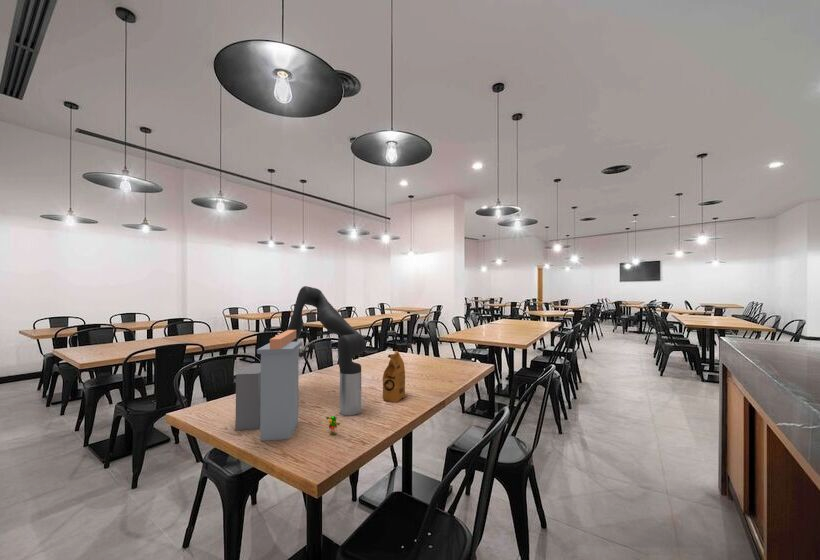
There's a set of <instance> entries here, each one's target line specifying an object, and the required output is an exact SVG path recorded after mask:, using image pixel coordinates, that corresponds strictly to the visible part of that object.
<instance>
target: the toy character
mask: <svg viewBox="0 0 820 560" xmlns="http://www.w3.org/2000/svg"><path fill="white" fill-rule="evenodd" d="M325 419H326V420H328V423H329V424H328V425H329V426H328V428H329V429H330V430H331V431H330V434H332V435H333V436H336V435H337V433H336V431H335V430H336V429H337V428H338V426H339V427H340V426H341V425H342V423H341V422H337V419H338V418H337V417H336V416H335V415H332V416H326V417H325Z"/></svg>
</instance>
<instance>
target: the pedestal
mask: <svg viewBox="0 0 820 560" xmlns="http://www.w3.org/2000/svg"><path fill="white" fill-rule="evenodd" d="M302 346H303V342H302V341H297V342H290V343H288V344H287V345H285V346H284V347H282V348H281V349H270V342H269V343H267V344H265V345H263V346H261V347H259V348H258V349H256V354H257V355H260V363H261V407H260V427H259V429H260V431H259V432H260V433H259V434H260V435H259V439H260V440H259V441H260V442H261V441H263V442H264V441H277V440H281V441H282V440H290V439H291V438H292V437H293V436H292V435H293V434H294V432H295V430H296V429H297V426H298V424H299V374H300V373H299V368H300V367H299V363H300V362H299V360H300V357H299V350H300V349H299V348H300V347H302Z"/></svg>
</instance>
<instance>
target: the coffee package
mask: <svg viewBox="0 0 820 560" xmlns="http://www.w3.org/2000/svg"><path fill="white" fill-rule="evenodd" d="M387 358H390V360H389V362H388V364H387V366H386V368H385V369H384V371H383V375H382V400H383V401H385V402H389V401H391V403H399V402H400V400H403V399H404V398H405V396H406V371H405V370H406V369H405V363H404V361H403V358H402V356H401V354H400V352H399V351H398V350H395V351H394V353H391V354H388V355H387ZM402 398H403V399H402Z"/></svg>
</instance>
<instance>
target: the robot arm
mask: <svg viewBox="0 0 820 560" xmlns="http://www.w3.org/2000/svg"><path fill="white" fill-rule="evenodd" d="M306 305H307V306H312V307H314V308H316V310H318V316H317V319H318V321H319V322H320V324H322V326H323V327H324V329H326V330H327V331H328V332H331V333H333V334H335V335H337V336H339V339H338V341H337V357H338V359H337V360H338V367H339V414H340V415H342V416H356V415H359V414H360V415H361V414H362V364H360V363H359V362H354V361H353V358H352V357H354V356H358V355H361V354H364V353H365V351H366V349H367V343H366V340H365V338H364V337H363V335H362V334H361V333H360V332H359V331H357V330H356V329H355V328H354V327H353V326H351V325H350V324H349V323H348V322H347V320H345V319H344V318H343V316H342V314H340V313H339V312H338V310H336V308H334V306H333V305H332V304H331V303H330V302H329V301H328V299H327V298H326V296H325V295H324V293H323V291H322V290H320V289H319V288H316V287H311V286H308V285H307V286H306V285H304V286H302V287H301V288H300V290H299V291H298V293H297V297H296V300H295V304H294V306H293V307H294V308H293V310H292V311H293V312H292V315H291V319H290V321H289V324H288V326H287V328H286V330H285V331H287V330H296V339H294V340H293V341H291V342H298V340H299V338H300V335H301V334H302V333H301V332H302V331H303V328H304V319H303V309H304V307H305V306H306ZM302 357H304V358H306V357H307V350H305V349H303V350H300V349H299V358H302Z"/></svg>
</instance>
